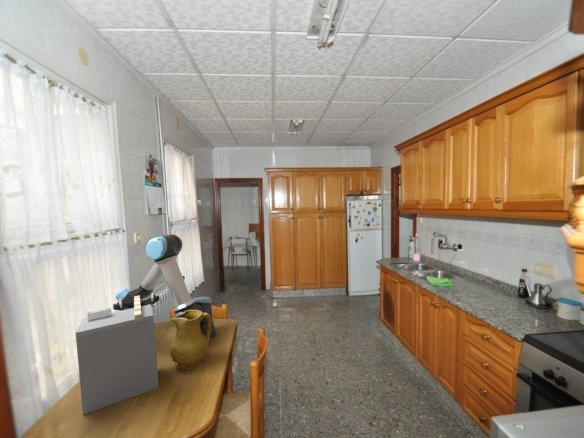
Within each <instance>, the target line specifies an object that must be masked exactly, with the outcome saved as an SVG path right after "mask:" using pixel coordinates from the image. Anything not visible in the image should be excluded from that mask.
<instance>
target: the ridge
mask: <svg viewBox="0 0 584 438" xmlns="http://www.w3.org/2000/svg"><path fill="white" fill-rule="evenodd" d="M111 313H112V308H111V307H108V308H103V309H98V310H92V311H88V312H87V315H86V316H87V318H88V321H92V320H96V319H101V318H106V317H110V316H111V315H112V314H111Z"/></svg>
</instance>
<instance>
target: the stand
mask: <svg viewBox="0 0 584 438" xmlns="http://www.w3.org/2000/svg"><path fill="white" fill-rule="evenodd" d="M111 314H112V315H111V316H110V317H106V318H101V319H96V320H92V321H88V317H84V318H82V319H81V320H80V323H79V325H78V327H77V329H76V331H75V342H76V353H77V362H78V372H79V374H78V376H79V384H80V396H81V397H80V398H81V406H82V416H83V415H87V414H89V413H92V412H94V411H98V410H101V409H104V408H106V407H108V406H111V405H114V404H117V403H120V402H122V401H125V400H128V399H131V398H133V397H137V396H140V395H143V394H145V393H148V392H150V391H153V390H156V389H158V388H159V387H160V386H159V385H160V383H159V371H158V360H157V358H158V357H157V346H156V345H157V344H156V334H155V321H154V312H153V307H152V306H151V304H150V305H146V306H141V317H142V320H141V321H136V322H135V317H134V308H131V309H126V310H122V311H119V310H116V311H113V312H112V311H111Z"/></svg>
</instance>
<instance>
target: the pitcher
mask: <svg viewBox="0 0 584 438" xmlns="http://www.w3.org/2000/svg"><path fill="white" fill-rule="evenodd" d="M204 317H206V318H207V320H208V323H207V332H206V335H204V334H203V332H202V331H201V328H200V322H201V320H202V319H203V318H204ZM171 322H174V323H175V325H176V328H175V330H176V334H175V337H174V339H173V340H172V342H171V344H170V348H169V351H170V352H169V353H170V357H171V359H172V362H175V368H176V369H177V370H179V371H181V370H183V371H185V370H186V371H187V370H193V369H195V368H197V367H199V366H200V365H201V364H202V362H203V361H204V357H205V355H206V354H207V351H208V350H207V349H208V347H209V346H208V345H209V342H210V339H211V338H210V332H211V331H210V330H211V317H210V315H209V314H208V313H202V312H201V311H199V310H186V311H185V312H184V313H183V314H181V315H179V316H176V317H172V318H171Z"/></svg>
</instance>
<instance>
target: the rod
mask: <svg viewBox="0 0 584 438" xmlns="http://www.w3.org/2000/svg"><path fill="white" fill-rule="evenodd" d="M134 317H135V322H136V321H141V320H142V317H141V305H140V295H139V296H134Z"/></svg>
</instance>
